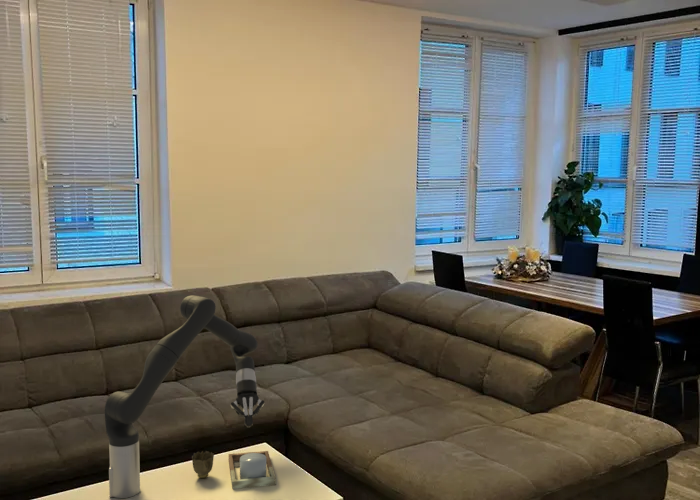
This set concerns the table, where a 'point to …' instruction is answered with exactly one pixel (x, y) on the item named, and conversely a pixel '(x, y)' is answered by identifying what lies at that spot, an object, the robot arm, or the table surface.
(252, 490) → the table surface
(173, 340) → the robot arm
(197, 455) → the cup
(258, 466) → the slate stoneware canister
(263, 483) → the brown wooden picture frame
